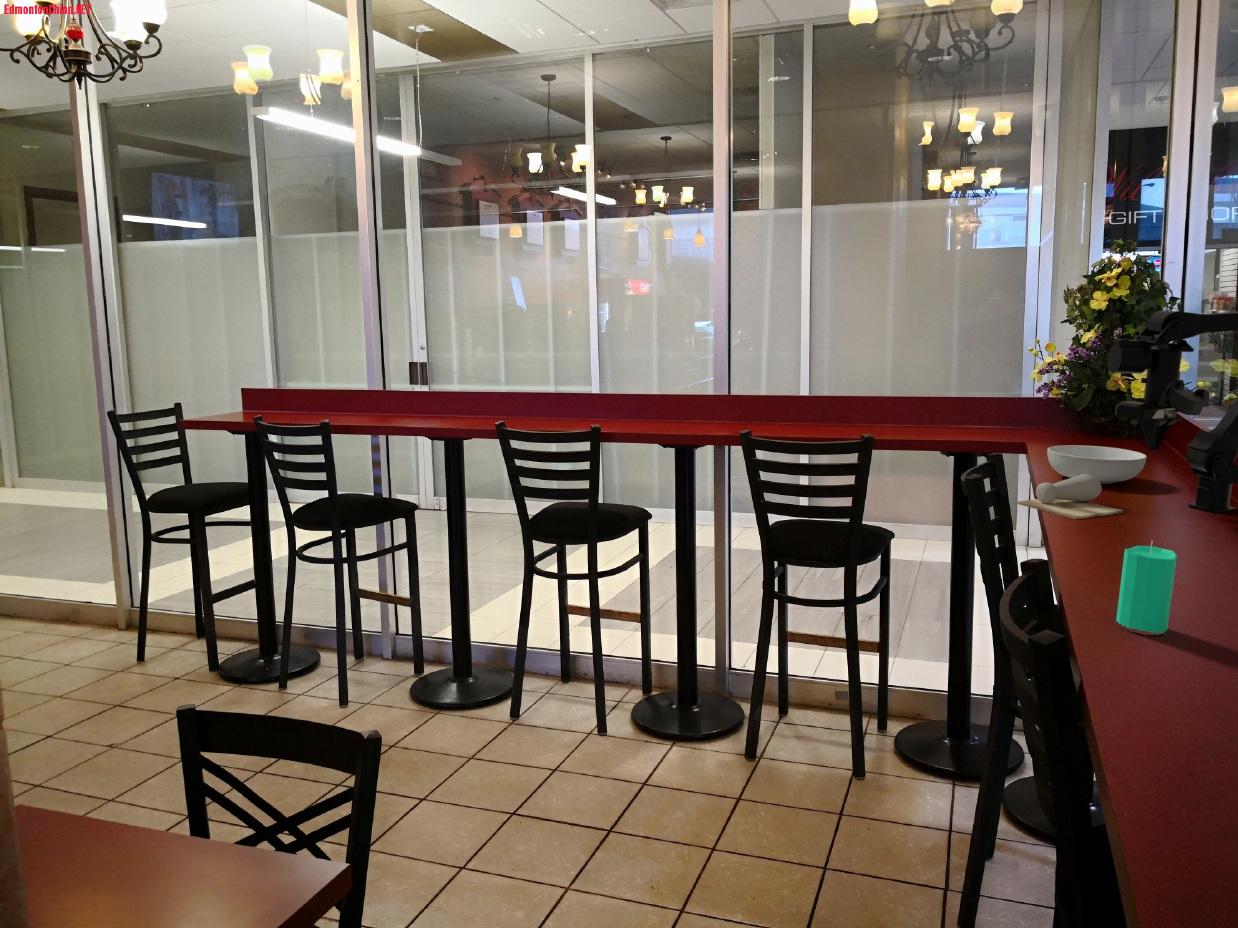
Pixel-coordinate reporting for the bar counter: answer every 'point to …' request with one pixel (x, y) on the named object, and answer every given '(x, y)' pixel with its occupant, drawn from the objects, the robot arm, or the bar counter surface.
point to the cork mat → (1071, 508)
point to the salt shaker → (1070, 489)
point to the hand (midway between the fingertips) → (1153, 450)
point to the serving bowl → (1096, 462)
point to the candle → (1146, 588)
